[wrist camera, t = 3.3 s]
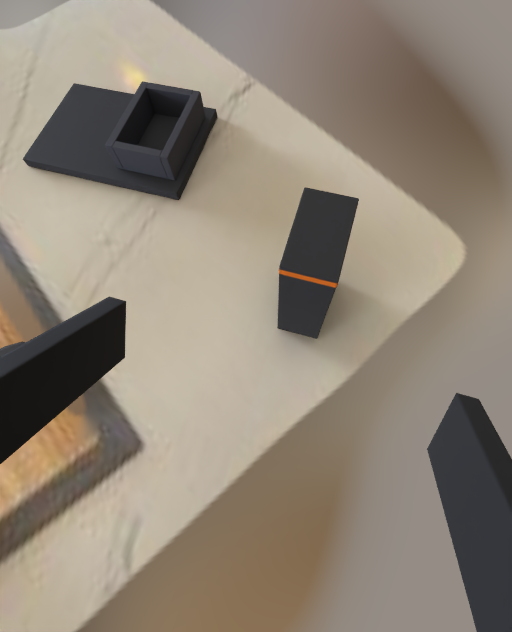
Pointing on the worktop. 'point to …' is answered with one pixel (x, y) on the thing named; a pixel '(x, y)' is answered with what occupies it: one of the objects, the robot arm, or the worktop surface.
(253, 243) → the worktop surface
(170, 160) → the base pad
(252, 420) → the worktop surface
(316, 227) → the black orange-striped block
